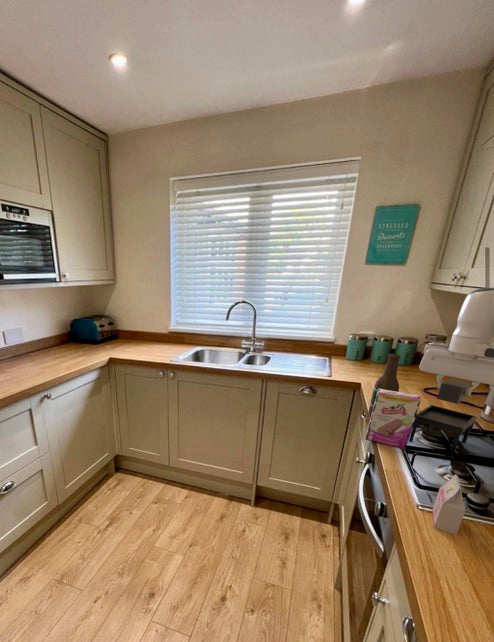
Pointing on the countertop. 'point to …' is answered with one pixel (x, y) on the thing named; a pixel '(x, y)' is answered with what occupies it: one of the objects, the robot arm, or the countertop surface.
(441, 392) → the black box
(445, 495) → the small gable carton
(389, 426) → the candy bar box
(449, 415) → the black tray stand
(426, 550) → the countertop surface
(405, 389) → the countertop surface
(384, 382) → the beer bottle
